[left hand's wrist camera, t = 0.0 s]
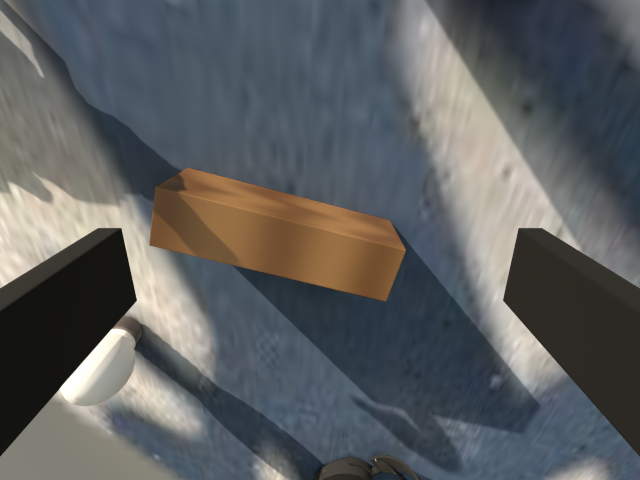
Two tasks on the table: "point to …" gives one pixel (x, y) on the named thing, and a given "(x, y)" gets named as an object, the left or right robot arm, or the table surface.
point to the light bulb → (105, 366)
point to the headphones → (363, 469)
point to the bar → (276, 233)
